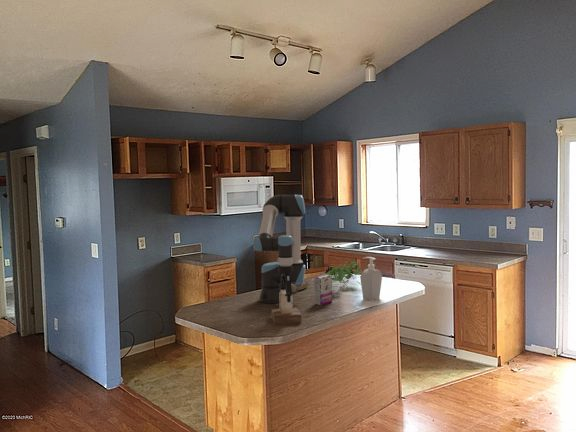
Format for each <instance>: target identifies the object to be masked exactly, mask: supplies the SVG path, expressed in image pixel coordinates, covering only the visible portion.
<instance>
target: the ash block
mask: <svg viewBox="0 0 576 432" xmlns="http://www.w3.org/2000/svg"><path fill="white" fill-rule="evenodd" d="M285 294H286V292H279V303H278V305H279V308H278V309H279V311H280V312H281V313H282V314H284V313H293V308H294V300H293V299H294V298H293V297H294V293H292V295H291V308H286V296H285Z"/></svg>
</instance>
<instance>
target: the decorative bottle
mask: <svg viewBox="0 0 576 432" xmlns="http://www.w3.org/2000/svg"><path fill="white" fill-rule="evenodd" d="M308 286H309V282H308V280H307V279H306V278H304V281H303V283H302V284H291V288H292V294H294V293H297V292H299V291H301V290H304V289H307V288H308ZM284 290H285V289H284Z"/></svg>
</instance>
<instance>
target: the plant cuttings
mask: <svg viewBox="0 0 576 432" xmlns="http://www.w3.org/2000/svg"><path fill="white" fill-rule="evenodd" d="M340 266H342V267H341V268H339V267H340ZM355 269H357V270H355ZM351 270H353V271H352V273H351ZM325 275H332V276H333V277H332V281H333V282H334V281H335V282H339V283H340V284H342V285H340V286H339V287H338V288H339V289H340V290H342V288H343V289H344V288H345V287H346V288H347V289H350V287H349V286H348V285H347V284H348V283H349V281H350V279H353V280H354V278H355V276H357V275H359V276H361V269H360V264H359V263H357V261H354V260H353V261H351V262H350V264H348V266H347V261H345V262H344V264H342V263H339V265H335V267H332V268H331V269H330V270H329V271H327V272H326V273H325ZM344 278H345V279H346V280H344ZM357 282H358V281H357ZM358 284H359V285H361V282H358ZM353 290H354V289H351V293H353V294H354V292H353Z"/></svg>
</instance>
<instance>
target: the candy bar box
mask: <svg viewBox="0 0 576 432" xmlns="http://www.w3.org/2000/svg"><path fill="white" fill-rule="evenodd" d="M332 278H333V275H326V274H322V275H319V276H315V277H314V304H315V305H316V304H317V306H323V304H324V305H327V304H331V303H332V302H333V289H332V288H333V280H332ZM326 303H327V304H326Z"/></svg>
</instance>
